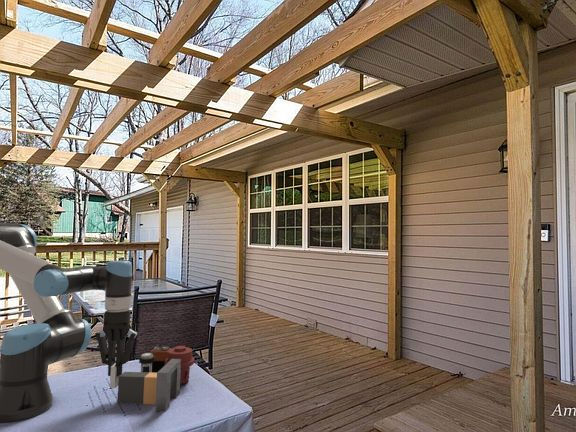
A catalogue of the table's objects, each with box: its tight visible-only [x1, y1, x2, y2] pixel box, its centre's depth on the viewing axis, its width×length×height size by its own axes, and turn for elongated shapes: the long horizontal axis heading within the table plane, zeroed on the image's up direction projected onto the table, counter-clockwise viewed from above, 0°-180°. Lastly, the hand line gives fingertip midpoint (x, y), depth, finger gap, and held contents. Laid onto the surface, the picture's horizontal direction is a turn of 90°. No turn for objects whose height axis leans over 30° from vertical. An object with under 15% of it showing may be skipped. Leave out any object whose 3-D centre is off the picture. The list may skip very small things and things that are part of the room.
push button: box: [138, 352, 155, 373], centre depth 128 cm, size 7×5×10 cm
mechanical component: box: [165, 345, 195, 386], centre depth 130 cm, size 12×10×10 cm
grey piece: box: [154, 359, 181, 413], centre depth 115 cm, size 3×13×11 cm, turn 179°
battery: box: [149, 346, 172, 373], centre depth 137 cm, size 4×7×10 cm, turn 88°
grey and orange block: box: [117, 371, 157, 405], centre depth 115 cm, size 12×4×8 cm, turn 89°
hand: (114, 386), depth 115 cm, fingers closed
